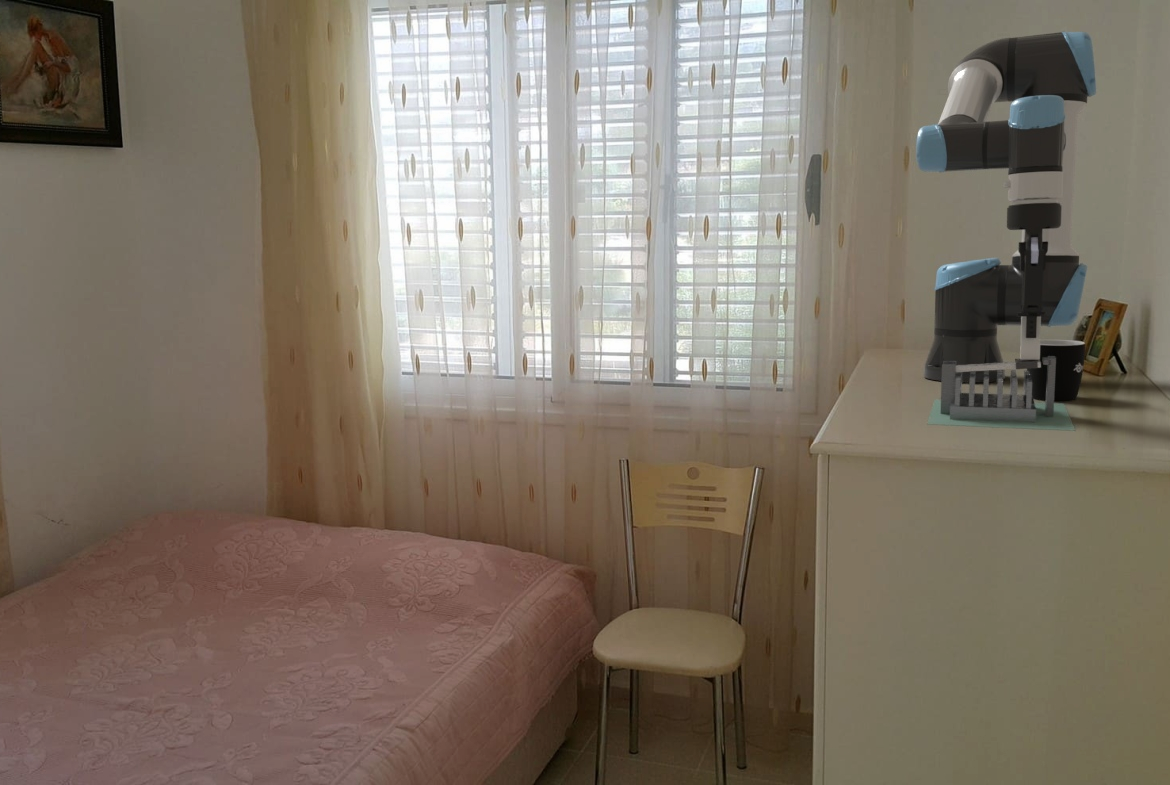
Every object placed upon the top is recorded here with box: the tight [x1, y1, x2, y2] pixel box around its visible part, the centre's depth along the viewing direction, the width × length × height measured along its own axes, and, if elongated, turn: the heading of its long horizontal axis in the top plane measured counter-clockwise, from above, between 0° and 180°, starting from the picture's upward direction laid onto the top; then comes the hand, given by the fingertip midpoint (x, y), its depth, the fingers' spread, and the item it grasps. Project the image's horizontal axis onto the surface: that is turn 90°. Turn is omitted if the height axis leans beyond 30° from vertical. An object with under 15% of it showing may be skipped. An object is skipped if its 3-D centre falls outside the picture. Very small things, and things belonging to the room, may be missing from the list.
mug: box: [1026, 339, 1086, 403], centre depth 172 cm, size 12×9×10 cm
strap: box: [956, 358, 1041, 372], centre depth 158 cm, size 5×14×1 cm, turn 69°
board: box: [927, 398, 1076, 432], centre depth 159 cm, size 24×20×1 cm
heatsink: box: [940, 356, 1056, 423], centre depth 158 cm, size 14×16×9 cm
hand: (1029, 358), depth 156 cm, fingers closed
